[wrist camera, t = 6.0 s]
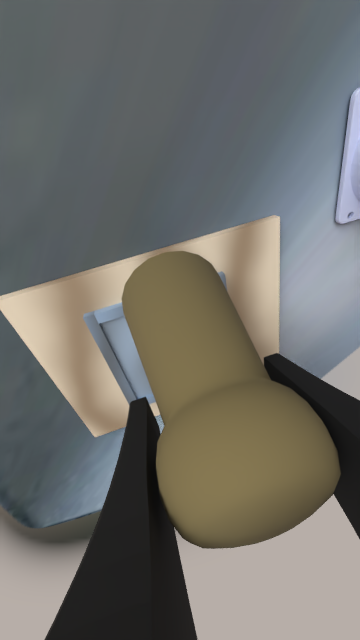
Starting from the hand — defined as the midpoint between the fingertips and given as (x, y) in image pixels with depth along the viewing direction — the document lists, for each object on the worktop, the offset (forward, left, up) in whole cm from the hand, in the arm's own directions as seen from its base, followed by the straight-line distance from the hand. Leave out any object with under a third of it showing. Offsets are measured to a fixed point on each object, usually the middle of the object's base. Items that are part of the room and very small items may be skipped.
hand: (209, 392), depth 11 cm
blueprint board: (+1, +5, -10) cm, 12 cm away
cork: (0, -2, -6) cm, 6 cm away
